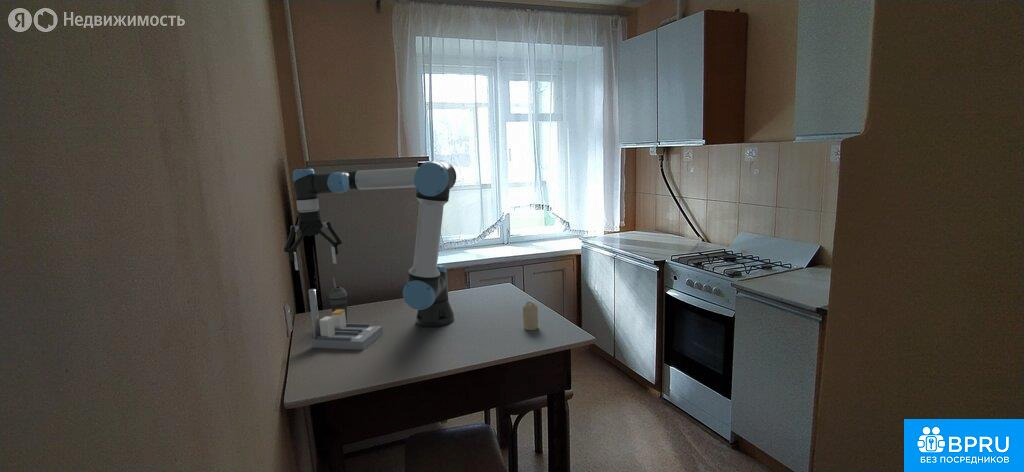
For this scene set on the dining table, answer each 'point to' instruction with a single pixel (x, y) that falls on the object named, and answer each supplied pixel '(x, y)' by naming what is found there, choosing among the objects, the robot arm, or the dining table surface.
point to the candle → (530, 316)
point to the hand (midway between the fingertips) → (316, 266)
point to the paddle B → (327, 326)
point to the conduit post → (314, 313)
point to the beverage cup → (338, 299)
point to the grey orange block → (339, 318)
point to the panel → (349, 337)
